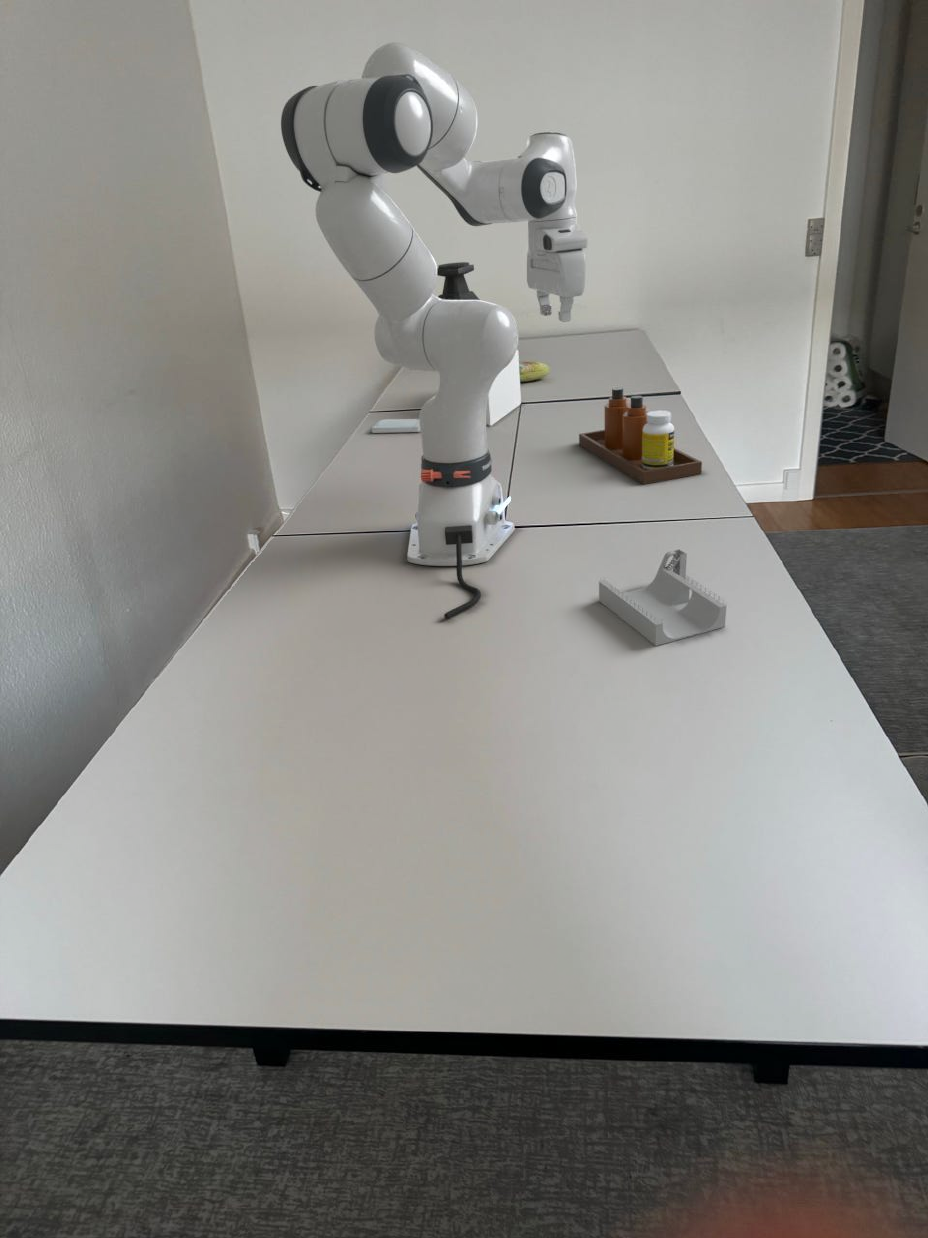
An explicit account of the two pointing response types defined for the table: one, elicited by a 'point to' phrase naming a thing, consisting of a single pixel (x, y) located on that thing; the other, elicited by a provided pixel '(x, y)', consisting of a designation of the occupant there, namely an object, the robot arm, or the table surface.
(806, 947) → the table surface
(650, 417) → the pill bottle
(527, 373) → the cell model
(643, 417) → the amber bottle middle
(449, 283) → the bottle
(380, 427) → the hard drive
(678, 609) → the grey plastic cradle
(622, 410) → the amber bottle far
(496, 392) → the box
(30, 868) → the table surface
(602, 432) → the tray
